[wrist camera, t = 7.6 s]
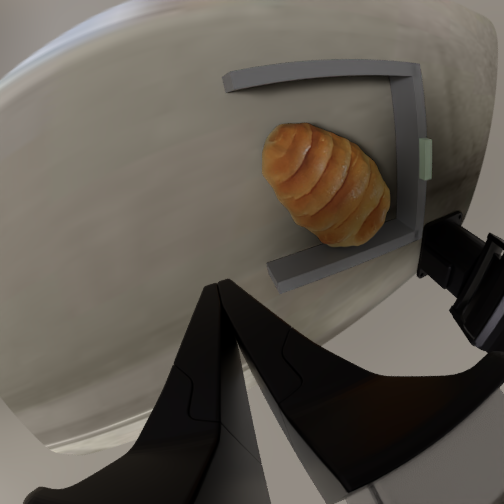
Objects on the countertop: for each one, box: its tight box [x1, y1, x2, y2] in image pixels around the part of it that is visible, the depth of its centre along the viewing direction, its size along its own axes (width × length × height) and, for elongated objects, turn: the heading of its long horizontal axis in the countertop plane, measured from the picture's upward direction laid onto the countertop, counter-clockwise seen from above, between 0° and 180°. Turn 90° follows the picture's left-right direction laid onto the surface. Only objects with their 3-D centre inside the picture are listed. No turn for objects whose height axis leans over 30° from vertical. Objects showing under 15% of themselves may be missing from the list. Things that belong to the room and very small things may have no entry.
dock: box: [222, 59, 432, 294], centre depth 16 cm, size 13×14×3 cm
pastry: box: [262, 123, 390, 247], centre depth 16 cm, size 9×7×4 cm
